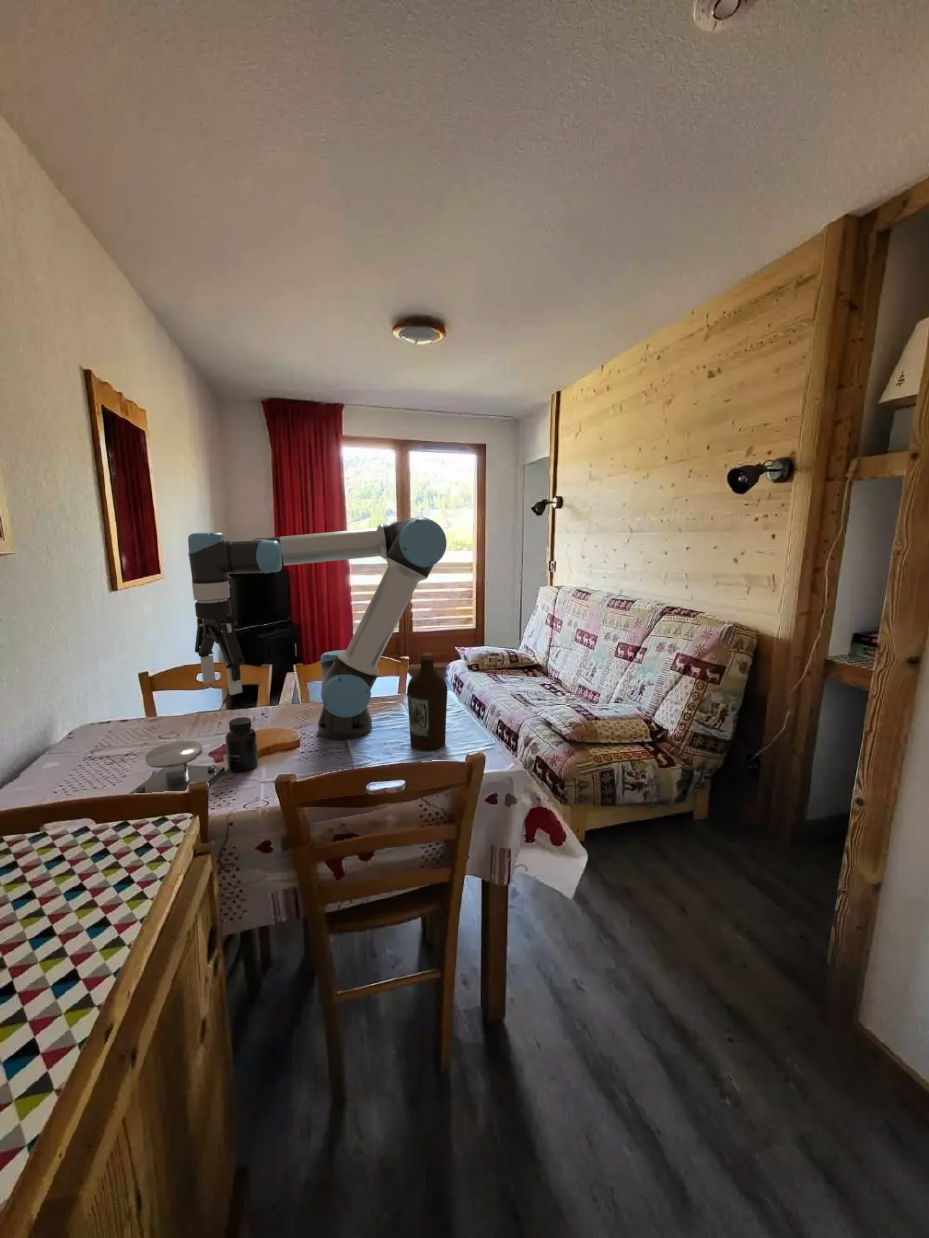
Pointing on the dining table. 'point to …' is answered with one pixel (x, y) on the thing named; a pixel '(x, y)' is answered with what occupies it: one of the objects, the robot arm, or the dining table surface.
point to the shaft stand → (177, 768)
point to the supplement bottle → (241, 746)
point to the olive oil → (427, 707)
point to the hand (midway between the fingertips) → (222, 687)
